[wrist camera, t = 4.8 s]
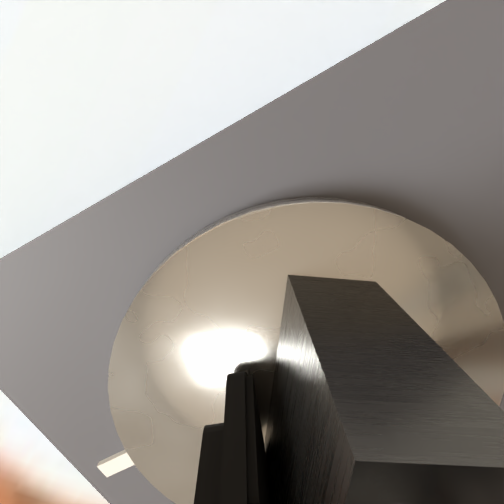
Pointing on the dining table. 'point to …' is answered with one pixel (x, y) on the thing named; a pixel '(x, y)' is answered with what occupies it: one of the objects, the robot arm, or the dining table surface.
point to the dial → (319, 357)
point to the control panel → (255, 193)
